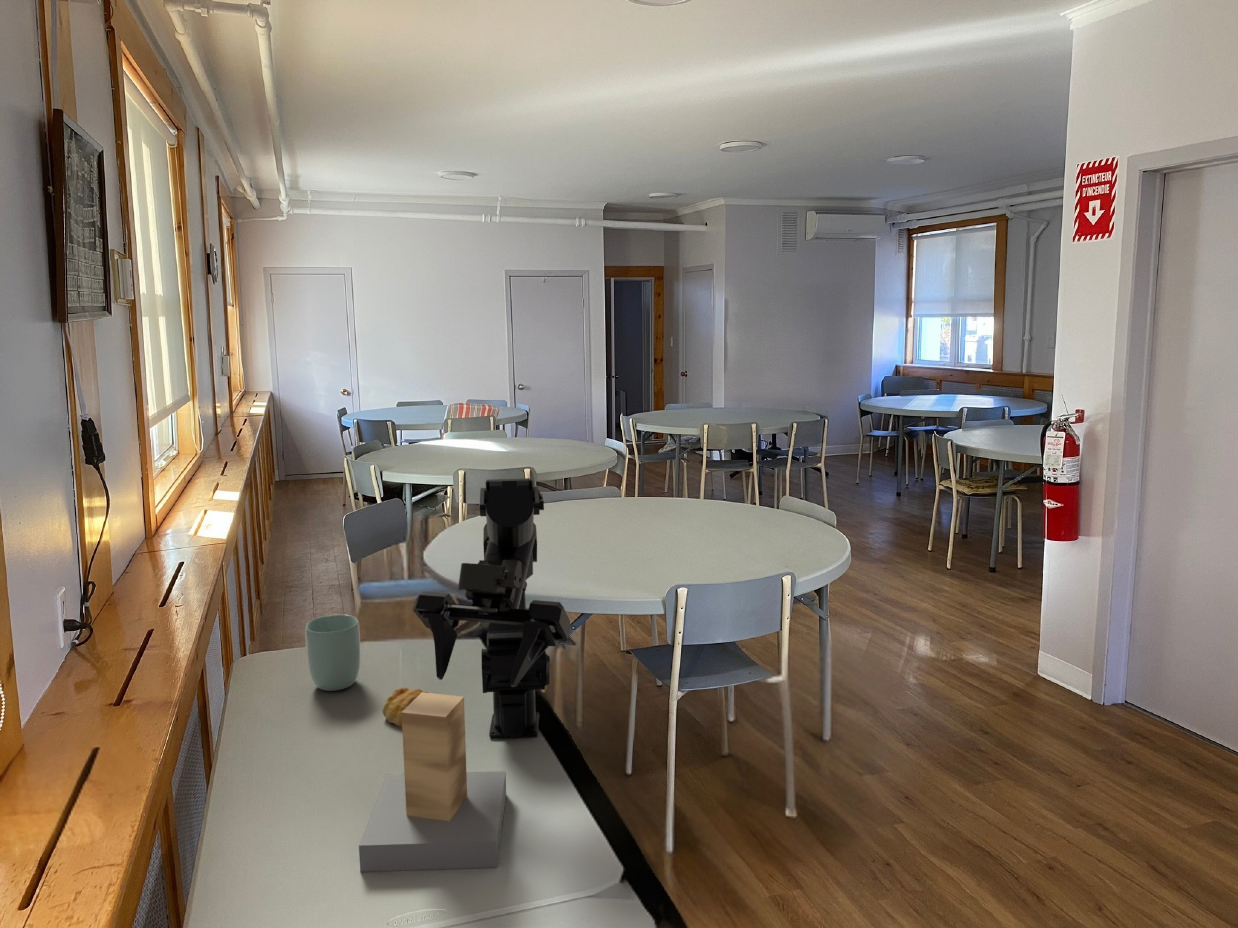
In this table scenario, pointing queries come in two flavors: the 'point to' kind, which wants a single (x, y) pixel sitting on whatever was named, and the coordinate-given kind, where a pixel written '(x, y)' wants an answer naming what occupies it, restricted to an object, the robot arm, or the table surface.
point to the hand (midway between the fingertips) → (475, 682)
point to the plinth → (435, 829)
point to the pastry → (399, 704)
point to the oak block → (434, 756)
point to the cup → (333, 651)
